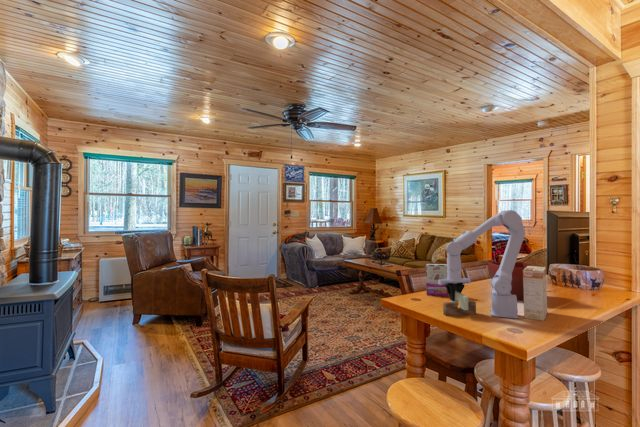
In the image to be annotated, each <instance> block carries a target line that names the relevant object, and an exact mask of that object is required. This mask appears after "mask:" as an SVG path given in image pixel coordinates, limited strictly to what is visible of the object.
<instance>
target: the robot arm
mask: <svg viewBox="0 0 640 427" xmlns="http://www.w3.org/2000/svg"><path fill="white" fill-rule="evenodd" d="M499 226H503V227H505V229H506V230H507V231H508V233H509V237H508V241H507V242H506V247H505V250H504V253H503V256H502V259H501V261H500V262H501V264H500V267H499V269H498V271H497V272H496V275H495V276H494V277H493V278H492V279H491V278H490V279H491V280H490V286H491V287H492V290H491V293H490V294H491V298H490V299H491V309H490V316H491V317H497V318H506V319H507V318H509V319H518V317H519V316H518V313H519V310H518V300H517V297H516V295H512V294H511V293H510V292H511V289H512V286H511V281H512V272H513V269H514V266H515V263H516V262H517V259H518V256H519V255H520V254H519V253H520V251H521V247H522V245H523V241H524V239H525V235H526V230H525V227H524V225H523V220H522V217H521V215H520V214H519V213H518V212H517V211H516V210H513V209H508V210H502V211H500V212H499V213H497V214H495V215H493V216H491V217H490V218H488V219H487V220H485V221H484V222H483V223H481V224H480V225H479V226H477V227H476V228H475V229H473V230H467V231H465V230H464V231H462V232H461V234H460V235H459V236H458V237H457V238H453V239H452V240H453V241H449V242H448V243H447V245H446V247H445V250H446V252H447V253H446V257H447V258H446V264H447V279H440V280H438V284H439V285H442V284H445V287H446V289H447V291H448V293H449V296H448V297H449V301H451V300H452V301H454V300H455V291H457V292H459V293H461V294H462V292H463V290H464V289H465V284H471V278H466V277H465V278H464V277H463V278H462V259H461V253H462V251H463V250H466V249H467V248H469V247H471V246H472V245H473V244H475V243H476V242H477V241H478V237H480V236H481V235H483V234H484V233H486V232H488V231H489V230H491V229H492V228H493V227H499Z"/></svg>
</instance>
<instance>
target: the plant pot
mask: <svg viewBox="0 0 640 427" xmlns="http://www.w3.org/2000/svg"><path fill="white" fill-rule="evenodd" d="M500 264H501V261H495V262H494V261H493V262H492V261H491V262H490V261H488V262H487V267H488V272H489V276H490V279H492V278H493V277H494V276H495V275H496V272H497V271H498V269H499V267H500ZM527 266H538V267H542V265H538V264H532V263H528V262H523V261H516V263H515V266H514V269H513V272H512V281H511V286H512V289H511V292H510V293H511V294H512V295H516V297H517V301H524V289H523V270H524V269H525V268H526V267H527Z"/></svg>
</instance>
